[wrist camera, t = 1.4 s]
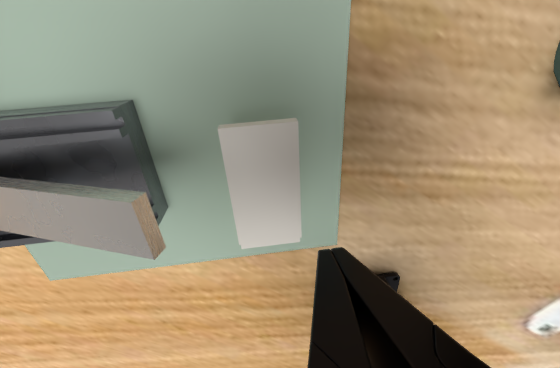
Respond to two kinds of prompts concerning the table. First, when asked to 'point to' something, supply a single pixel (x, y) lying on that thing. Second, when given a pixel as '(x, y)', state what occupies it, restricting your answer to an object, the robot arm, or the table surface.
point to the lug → (263, 180)
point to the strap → (81, 216)
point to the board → (189, 103)
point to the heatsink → (79, 151)
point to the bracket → (557, 64)
